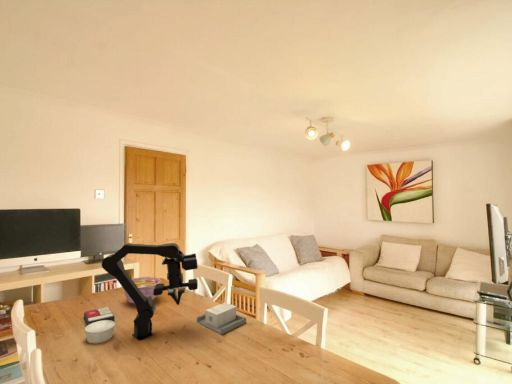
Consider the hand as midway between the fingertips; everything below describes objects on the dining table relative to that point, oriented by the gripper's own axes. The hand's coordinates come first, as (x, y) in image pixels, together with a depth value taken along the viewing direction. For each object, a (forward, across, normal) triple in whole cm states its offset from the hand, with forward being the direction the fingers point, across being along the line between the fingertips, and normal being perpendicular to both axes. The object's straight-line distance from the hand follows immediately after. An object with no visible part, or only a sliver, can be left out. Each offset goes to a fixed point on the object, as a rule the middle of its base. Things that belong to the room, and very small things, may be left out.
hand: (178, 304), depth 126 cm
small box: (+10, -13, 0) cm, 16 cm away
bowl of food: (+14, +25, -35) cm, 45 cm away
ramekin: (+8, +33, +4) cm, 34 cm away
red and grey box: (+10, +40, -14) cm, 43 cm away
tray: (+14, -18, -3) cm, 23 cm away
